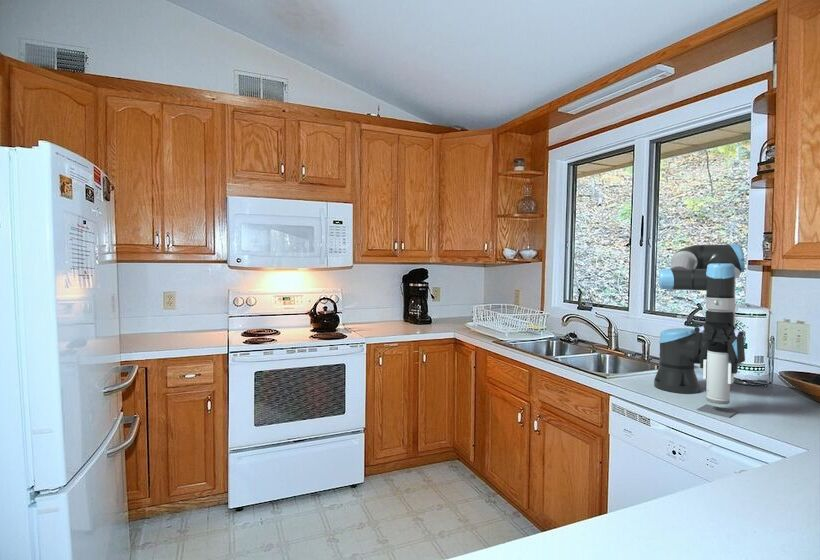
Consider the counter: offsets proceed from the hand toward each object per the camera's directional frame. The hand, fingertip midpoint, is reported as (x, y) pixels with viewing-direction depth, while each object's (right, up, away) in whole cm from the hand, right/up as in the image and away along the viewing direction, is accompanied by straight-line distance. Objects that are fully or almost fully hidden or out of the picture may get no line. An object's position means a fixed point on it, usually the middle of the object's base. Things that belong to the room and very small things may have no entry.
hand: (718, 380), depth 142 cm
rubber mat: (0, -10, 0) cm, 10 cm away
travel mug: (0, -7, 0) cm, 7 cm away
